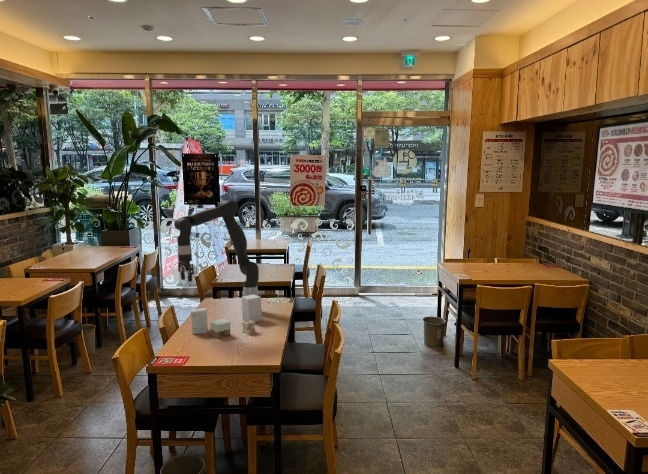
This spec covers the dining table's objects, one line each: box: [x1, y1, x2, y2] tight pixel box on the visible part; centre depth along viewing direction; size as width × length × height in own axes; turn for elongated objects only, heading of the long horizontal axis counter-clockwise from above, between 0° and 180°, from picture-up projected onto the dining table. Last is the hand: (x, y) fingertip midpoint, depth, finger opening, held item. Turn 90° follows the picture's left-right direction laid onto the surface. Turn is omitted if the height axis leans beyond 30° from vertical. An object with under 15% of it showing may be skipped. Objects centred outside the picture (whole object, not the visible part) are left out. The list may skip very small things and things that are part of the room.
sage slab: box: [209, 318, 232, 332], centre depth 251 cm, size 8×8×4 cm
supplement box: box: [241, 295, 263, 323], centre depth 277 cm, size 9×9×15 cm
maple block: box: [242, 320, 256, 336], centre depth 255 cm, size 5×5×6 cm
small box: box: [190, 307, 209, 335], centre depth 257 cm, size 8×6×13 cm
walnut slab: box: [209, 328, 231, 339], centre depth 252 cm, size 8×8×4 cm
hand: (186, 280), depth 263 cm, fingers open, 8 cm apart
